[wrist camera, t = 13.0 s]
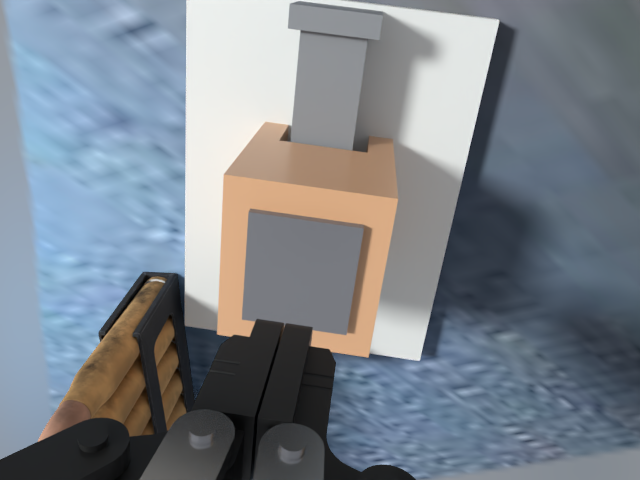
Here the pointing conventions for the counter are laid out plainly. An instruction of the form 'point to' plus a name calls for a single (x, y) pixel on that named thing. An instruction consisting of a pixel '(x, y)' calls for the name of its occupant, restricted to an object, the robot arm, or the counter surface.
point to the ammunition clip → (135, 364)
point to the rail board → (392, 109)
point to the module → (306, 238)
